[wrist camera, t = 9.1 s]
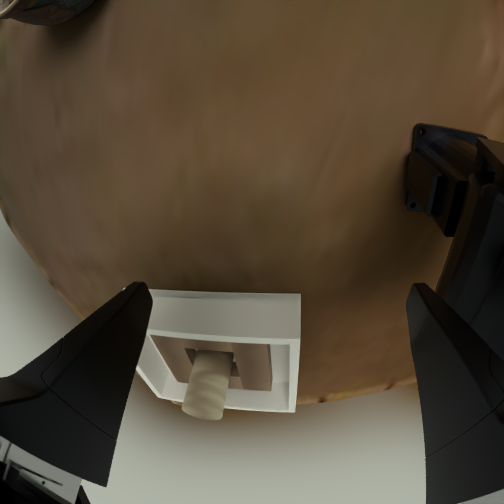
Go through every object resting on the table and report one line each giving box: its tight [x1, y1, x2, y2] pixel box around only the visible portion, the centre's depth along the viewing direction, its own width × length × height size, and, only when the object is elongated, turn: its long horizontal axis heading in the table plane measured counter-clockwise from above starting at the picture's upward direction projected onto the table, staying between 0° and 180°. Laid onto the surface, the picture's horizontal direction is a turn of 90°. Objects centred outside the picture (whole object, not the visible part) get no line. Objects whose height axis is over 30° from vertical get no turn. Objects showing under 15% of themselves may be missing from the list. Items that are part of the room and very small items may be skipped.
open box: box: [123, 287, 301, 412], centre depth 30 cm, size 18×16×5 cm
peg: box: [182, 349, 234, 420], centre depth 28 cm, size 4×4×8 cm
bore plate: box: [149, 334, 273, 391], centre depth 30 cm, size 12×12×2 cm
